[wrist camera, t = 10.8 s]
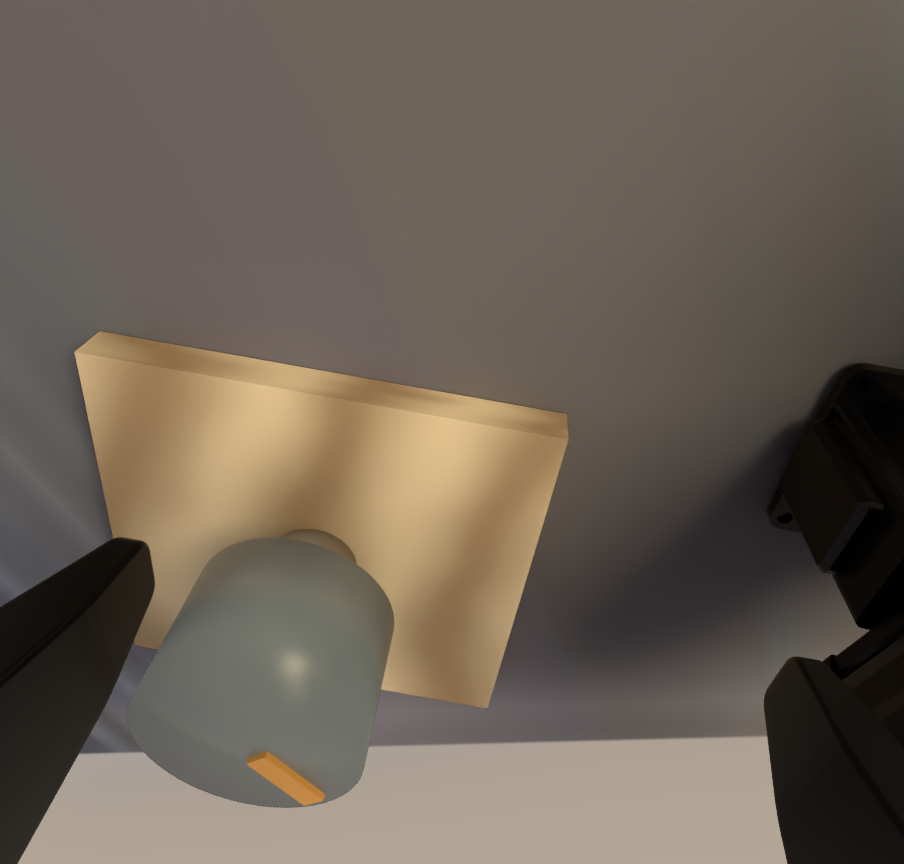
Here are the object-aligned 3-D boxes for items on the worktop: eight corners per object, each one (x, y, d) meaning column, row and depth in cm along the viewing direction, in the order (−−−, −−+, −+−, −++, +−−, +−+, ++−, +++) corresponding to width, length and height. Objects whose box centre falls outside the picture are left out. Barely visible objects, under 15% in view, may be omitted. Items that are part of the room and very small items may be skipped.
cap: (157, 583, 24) (73, 718, 19) (302, 507, 21) (242, 646, 16) (291, 692, 26) (244, 830, 22) (433, 638, 24) (411, 784, 19)
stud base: (566, 414, 23) (571, 485, 19) (489, 679, 31) (484, 758, 28) (99, 330, 23) (29, 388, 19) (151, 618, 31) (108, 690, 28)
